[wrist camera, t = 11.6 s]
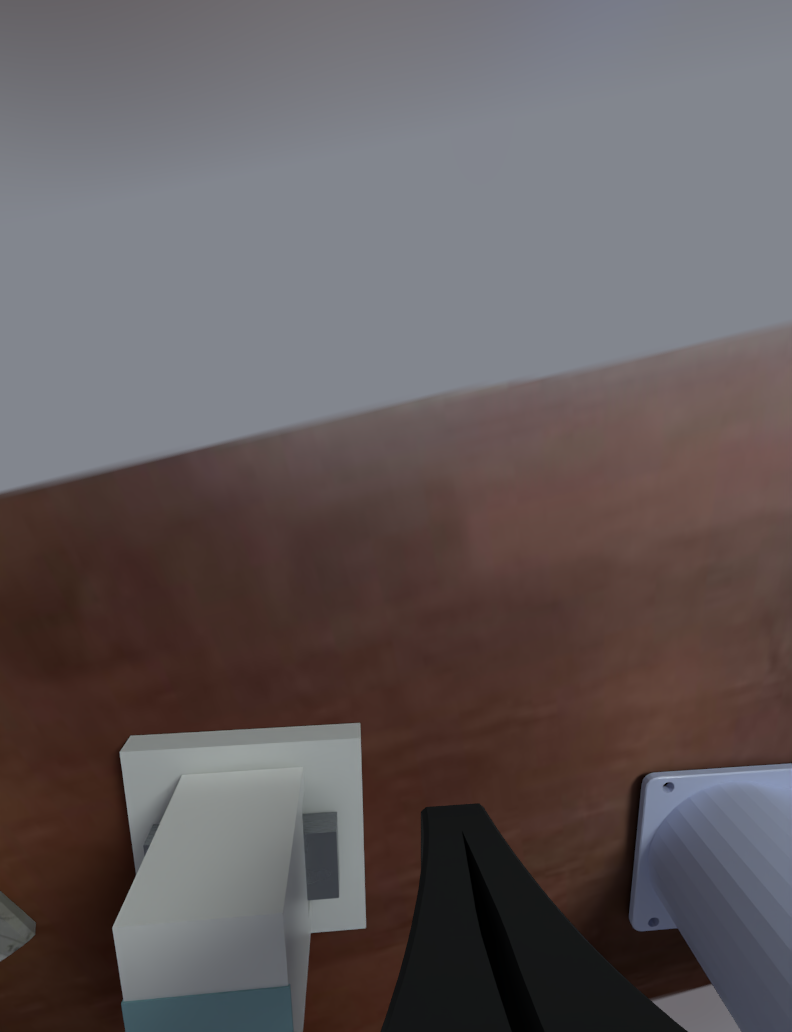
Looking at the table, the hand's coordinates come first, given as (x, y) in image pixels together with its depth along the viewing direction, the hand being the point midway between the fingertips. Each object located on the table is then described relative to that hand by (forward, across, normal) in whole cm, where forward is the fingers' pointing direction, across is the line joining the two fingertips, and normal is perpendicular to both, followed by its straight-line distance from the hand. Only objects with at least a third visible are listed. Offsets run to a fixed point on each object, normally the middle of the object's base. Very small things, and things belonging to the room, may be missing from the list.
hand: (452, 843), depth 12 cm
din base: (+9, +6, +8) cm, 14 cm away
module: (+8, +6, +7) cm, 13 cm away
